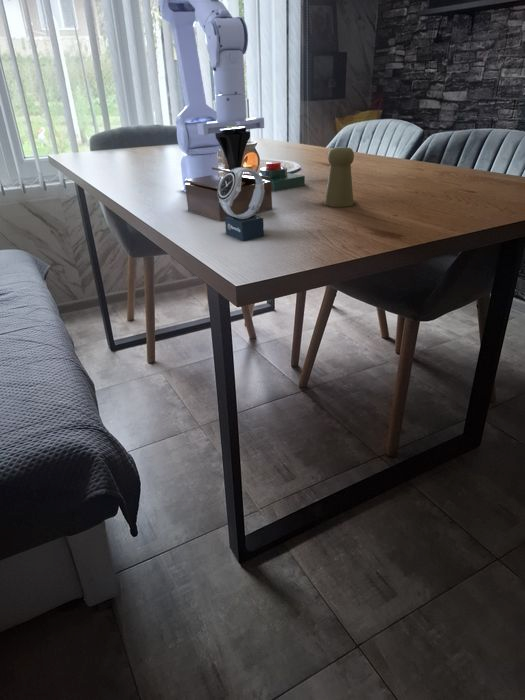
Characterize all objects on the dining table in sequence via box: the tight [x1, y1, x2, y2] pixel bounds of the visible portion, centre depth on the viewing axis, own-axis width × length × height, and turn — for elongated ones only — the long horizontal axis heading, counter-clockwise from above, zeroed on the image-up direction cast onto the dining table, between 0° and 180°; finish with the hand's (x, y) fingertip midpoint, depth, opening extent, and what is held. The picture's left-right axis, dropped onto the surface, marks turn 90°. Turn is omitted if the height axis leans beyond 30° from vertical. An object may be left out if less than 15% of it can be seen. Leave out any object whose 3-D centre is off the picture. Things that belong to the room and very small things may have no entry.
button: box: [265, 160, 282, 170], centre depth 119 cm, size 4×4×2 cm
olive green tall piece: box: [324, 146, 355, 208], centre depth 99 cm, size 6×6×11 cm
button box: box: [244, 165, 306, 192], centre depth 121 cm, size 12×10×4 cm
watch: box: [217, 166, 265, 242], centre depth 81 cm, size 6×8×11 cm
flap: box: [212, 167, 271, 179], centre depth 99 cm, size 6×12×1 cm, turn 39°
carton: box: [185, 175, 273, 222], centre depth 99 cm, size 13×12×6 cm
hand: (235, 170), depth 98 cm, fingers closed
